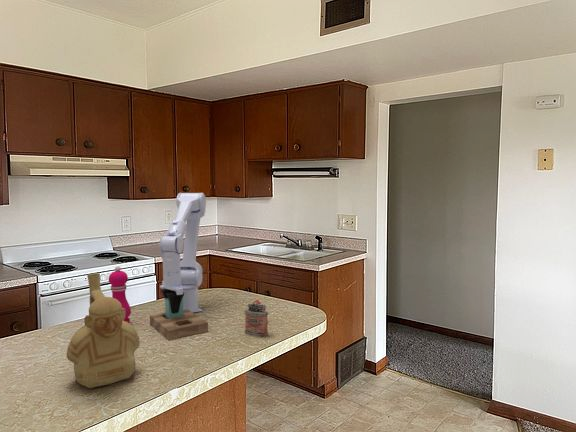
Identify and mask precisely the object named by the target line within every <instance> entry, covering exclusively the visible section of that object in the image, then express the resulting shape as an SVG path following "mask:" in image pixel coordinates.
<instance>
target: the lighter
mask: <svg viewBox="0 0 576 432" xmlns="http://www.w3.org/2000/svg"><path fill="white" fill-rule="evenodd" d="M266 306H267V305H266V304H265V303H261V304H258V303H257V302H255V303H253V302H248V303H247V307H248V308H246V309H244V316H245V317H244V319H245V321H244V323H245V325H244V326H245V327H244V334H245V335H248V336H252V337H257V338H267V337H268V336H269V332H268V315H269V312H268V311H266ZM262 309H265V311H263V310H262Z"/></svg>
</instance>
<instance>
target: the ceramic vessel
mask: <svg viewBox="0 0 576 432" xmlns="http://www.w3.org/2000/svg"><path fill="white" fill-rule="evenodd" d="M86 278H87V281H88V287H89V307H88V315H85V316H84V319H83V320H84V321H83V322H84V325H82V326H81V327H80V328H79V329H77V330H76V331H75V332H74V333H73V335H72V337H71V339H70V341H69V343H68V345H67V350H66V354H65V355H66V358H67V360H68V361H69V362H71V363H73V372H74V377H75V380H76V382H77V383H78V384H80V385H81V386H83V387H86V388H88V389H94V388H98V387H102V386H107V385H111V384H114V383H118V382H121V381H125V380H128V379H129V378H131V377H132V375H133V373H134V372H135V370H136V357H135V351H136V350H137V349H139V347H140V337H139V335H138V332H137V330H136V328H135V327H134V326H133V325H132V324H131V323H130V324H129V323H128V322H126V321H123V320H124V319H125V315H126V310H125V309H124V308H122V305H121V303H120V302H119V301H118V300H117V299H115V298H112V297H111V296H105V294H104V293H103V291H102V286H101V274H100V273H99V272H95V273H91V274H87V277H86Z"/></svg>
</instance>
